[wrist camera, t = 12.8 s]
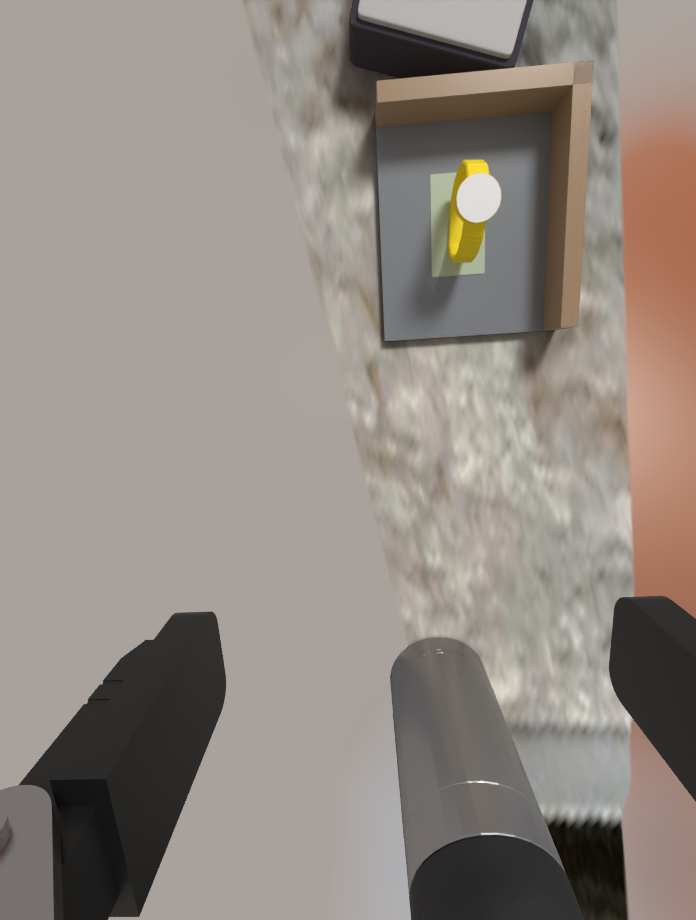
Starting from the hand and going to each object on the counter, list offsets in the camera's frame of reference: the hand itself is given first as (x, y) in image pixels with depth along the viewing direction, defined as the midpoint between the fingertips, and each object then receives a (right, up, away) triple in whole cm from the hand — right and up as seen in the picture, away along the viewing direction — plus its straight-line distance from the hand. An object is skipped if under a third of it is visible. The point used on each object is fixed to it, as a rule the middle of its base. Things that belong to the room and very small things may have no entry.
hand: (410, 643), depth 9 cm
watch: (+7, +21, +23) cm, 32 cm away
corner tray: (+8, +21, +24) cm, 33 cm away
